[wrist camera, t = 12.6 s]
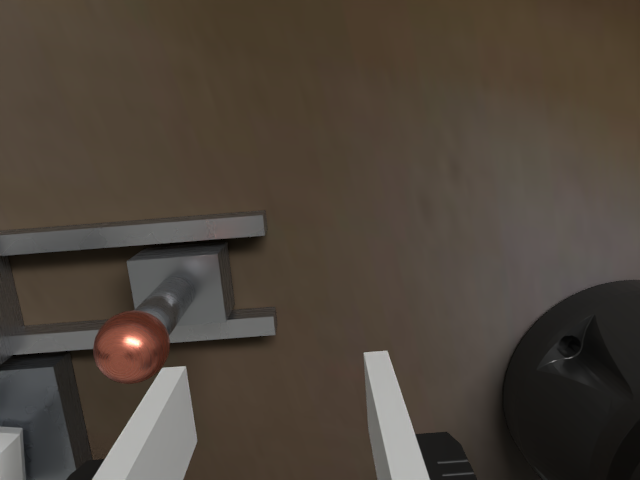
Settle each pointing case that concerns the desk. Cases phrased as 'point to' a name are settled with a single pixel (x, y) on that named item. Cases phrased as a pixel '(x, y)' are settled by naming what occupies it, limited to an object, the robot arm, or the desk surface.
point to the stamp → (12, 454)
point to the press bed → (45, 413)
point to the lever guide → (3, 306)
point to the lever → (164, 307)
